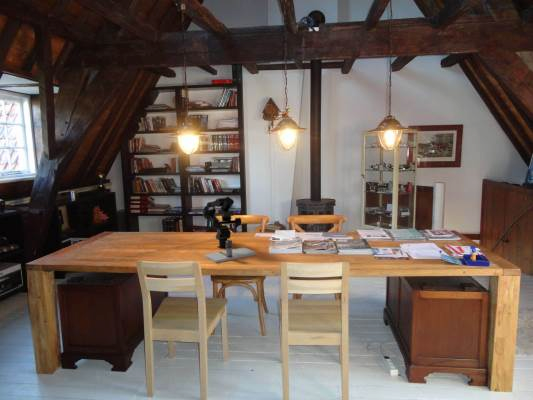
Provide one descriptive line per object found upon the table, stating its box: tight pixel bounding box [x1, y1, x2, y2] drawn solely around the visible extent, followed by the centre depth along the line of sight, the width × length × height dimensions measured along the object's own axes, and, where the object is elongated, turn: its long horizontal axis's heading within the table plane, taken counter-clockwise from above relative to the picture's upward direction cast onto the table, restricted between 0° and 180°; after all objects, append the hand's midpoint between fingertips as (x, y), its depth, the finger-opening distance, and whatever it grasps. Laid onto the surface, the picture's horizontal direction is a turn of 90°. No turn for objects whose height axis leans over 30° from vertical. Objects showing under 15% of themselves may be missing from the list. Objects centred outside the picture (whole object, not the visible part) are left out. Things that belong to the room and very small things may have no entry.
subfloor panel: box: [203, 246, 258, 264], centre depth 248 cm, size 16×29×2 cm, turn 123°
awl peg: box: [225, 239, 233, 257], centre depth 240 cm, size 4×4×10 cm
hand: (228, 233), depth 251 cm, fingers open, 9 cm apart
